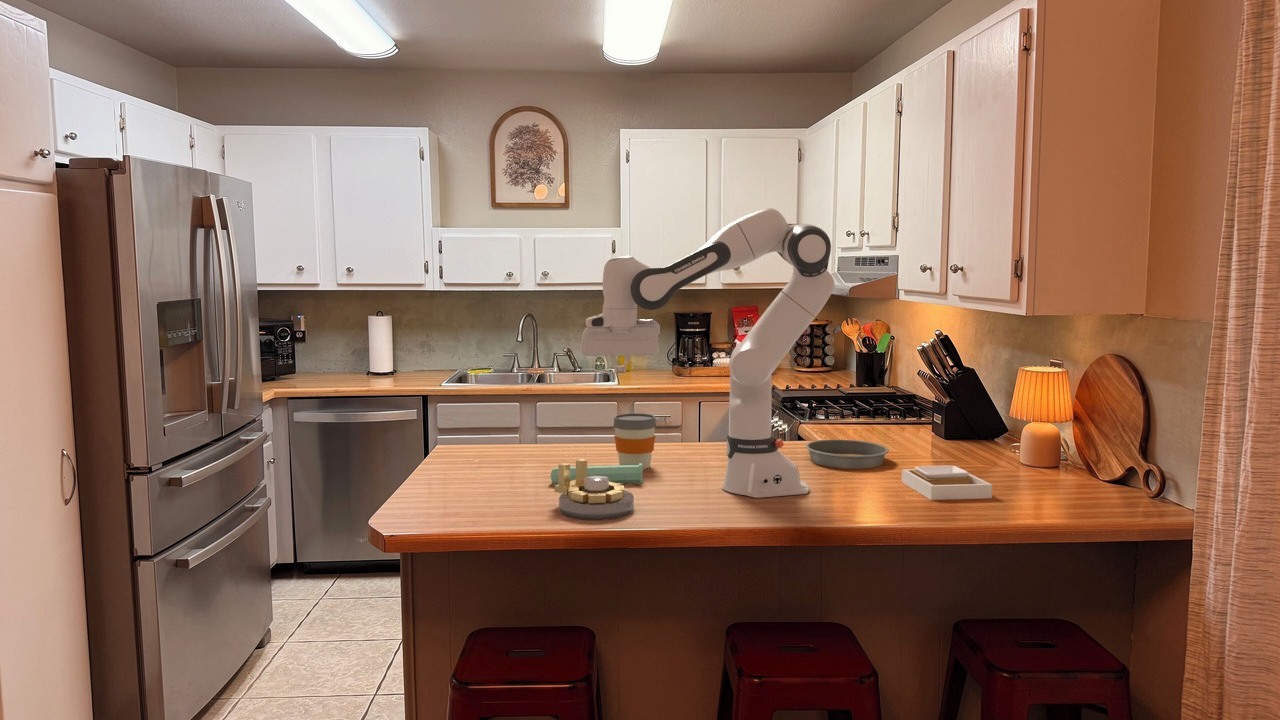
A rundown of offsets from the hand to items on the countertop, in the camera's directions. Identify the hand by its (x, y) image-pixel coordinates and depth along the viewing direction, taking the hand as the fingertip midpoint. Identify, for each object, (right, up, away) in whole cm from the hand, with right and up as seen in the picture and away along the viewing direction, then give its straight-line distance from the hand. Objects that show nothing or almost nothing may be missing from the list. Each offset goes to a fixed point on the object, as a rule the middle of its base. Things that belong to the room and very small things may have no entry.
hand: (620, 372), depth 212 cm
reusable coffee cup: (+4, -28, +30) cm, 41 cm away
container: (-7, -31, +11) cm, 33 cm away
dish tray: (+85, -31, +3) cm, 91 cm away
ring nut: (-7, -29, -14) cm, 33 cm away
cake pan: (+68, -28, +37) cm, 83 cm away
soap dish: (+86, -31, +6) cm, 91 cm away
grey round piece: (-5, -33, -14) cm, 36 cm away
